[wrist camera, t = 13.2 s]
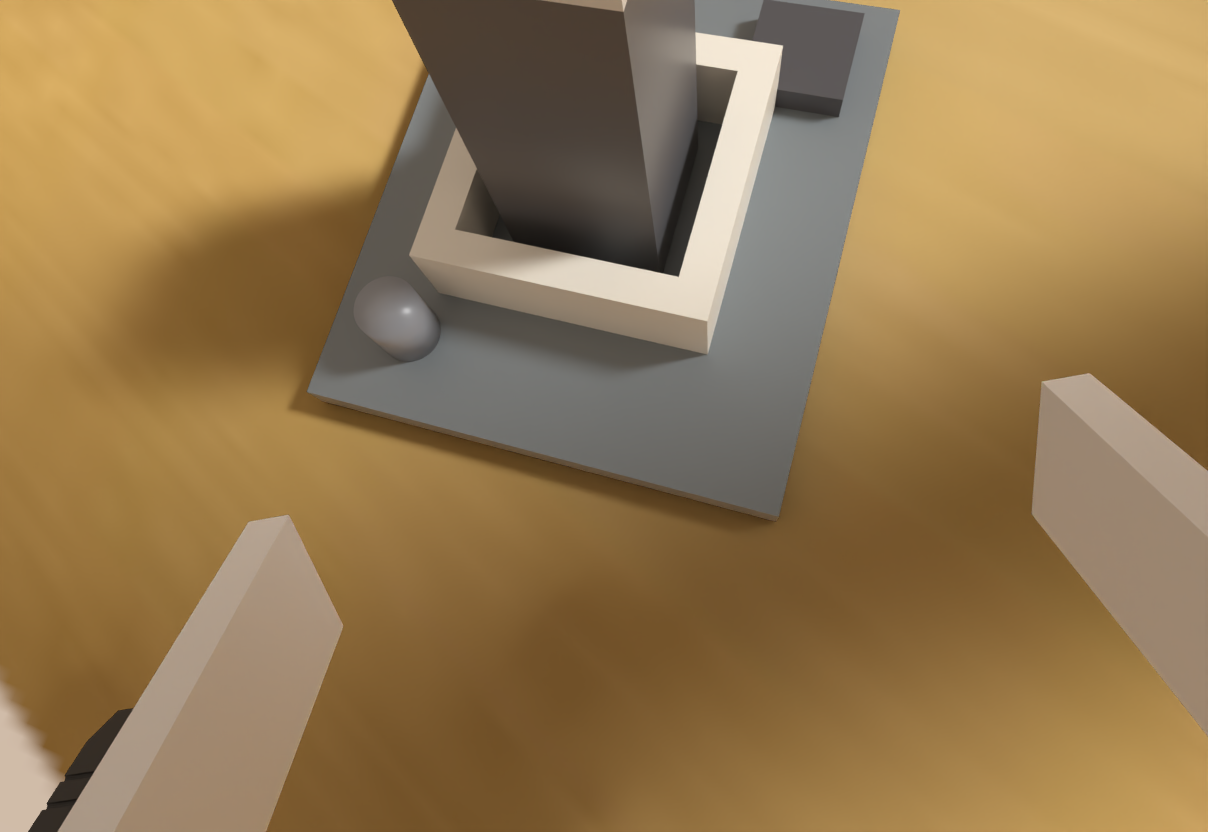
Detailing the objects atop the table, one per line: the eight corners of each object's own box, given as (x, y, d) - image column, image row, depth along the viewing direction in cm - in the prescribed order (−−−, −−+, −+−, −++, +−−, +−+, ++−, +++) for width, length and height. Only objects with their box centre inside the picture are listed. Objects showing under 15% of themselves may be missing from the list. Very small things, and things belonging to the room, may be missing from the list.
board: (484, -26, 28) (453, -115, 25) (892, 33, 25) (920, -58, 22) (322, 401, 25) (261, 365, 21) (775, 521, 22) (787, 501, 19)
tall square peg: (559, 123, 25) (437, -288, 14) (698, 147, 24) (687, -271, 13) (518, 250, 24) (350, -82, 13) (661, 279, 23) (615, -48, 12)
